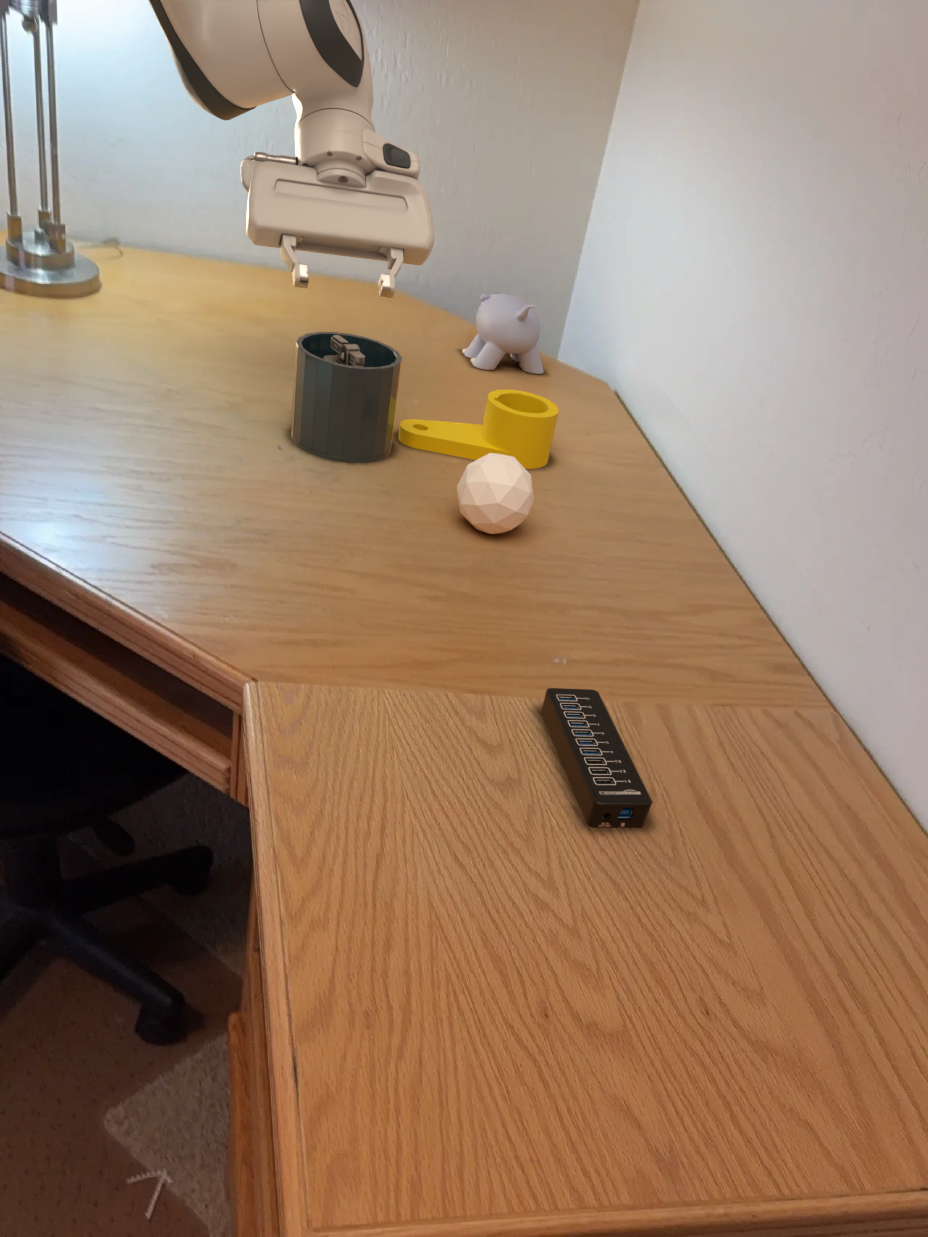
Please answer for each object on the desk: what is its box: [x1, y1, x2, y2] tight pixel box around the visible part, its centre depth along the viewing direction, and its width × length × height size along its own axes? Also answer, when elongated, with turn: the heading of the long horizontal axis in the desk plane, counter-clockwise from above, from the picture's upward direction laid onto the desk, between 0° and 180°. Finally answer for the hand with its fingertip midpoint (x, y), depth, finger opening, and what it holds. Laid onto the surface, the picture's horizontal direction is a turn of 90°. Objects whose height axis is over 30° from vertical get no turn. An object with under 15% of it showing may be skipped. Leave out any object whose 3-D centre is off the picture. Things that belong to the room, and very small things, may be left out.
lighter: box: [323, 335, 365, 367], centre depth 116 cm, size 8×3×10 cm, turn 33°
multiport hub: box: [540, 687, 653, 829], centre depth 80 cm, size 4×14×2 cm, turn 12°
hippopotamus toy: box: [461, 293, 545, 375], centre depth 149 cm, size 11×15×10 cm
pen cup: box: [290, 331, 403, 464], centre depth 116 cm, size 11×11×10 cm
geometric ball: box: [455, 453, 535, 535], centre depth 107 cm, size 8×8×8 cm
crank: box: [397, 388, 560, 470], centre depth 123 cm, size 18×8×6 cm, turn 97°
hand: (344, 289), depth 114 cm, fingers open, 8 cm apart
